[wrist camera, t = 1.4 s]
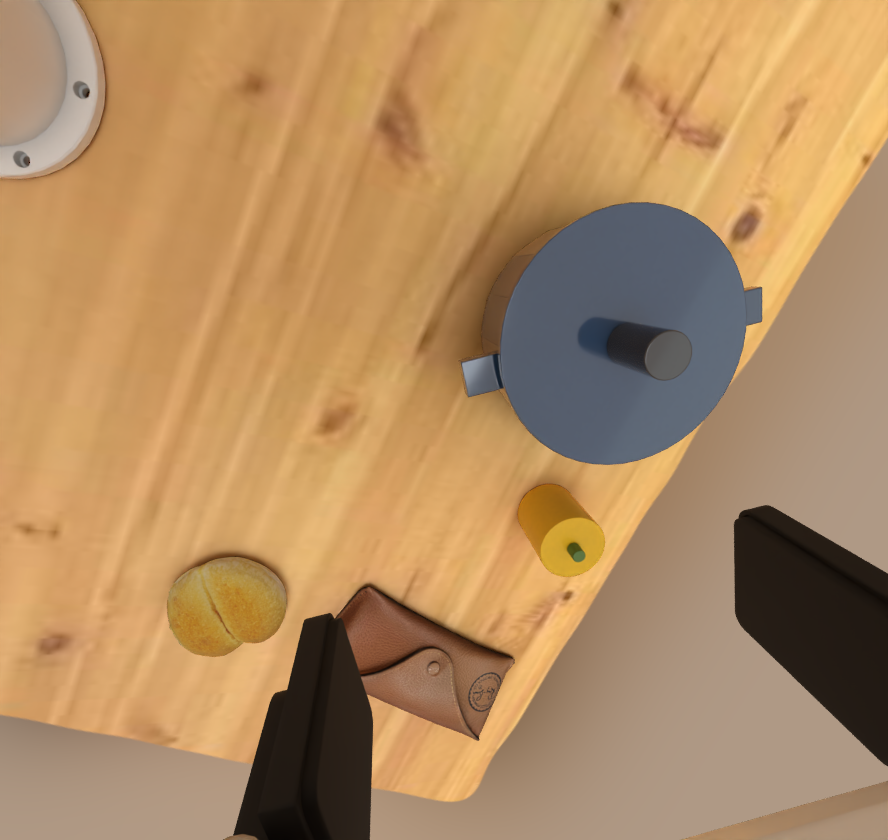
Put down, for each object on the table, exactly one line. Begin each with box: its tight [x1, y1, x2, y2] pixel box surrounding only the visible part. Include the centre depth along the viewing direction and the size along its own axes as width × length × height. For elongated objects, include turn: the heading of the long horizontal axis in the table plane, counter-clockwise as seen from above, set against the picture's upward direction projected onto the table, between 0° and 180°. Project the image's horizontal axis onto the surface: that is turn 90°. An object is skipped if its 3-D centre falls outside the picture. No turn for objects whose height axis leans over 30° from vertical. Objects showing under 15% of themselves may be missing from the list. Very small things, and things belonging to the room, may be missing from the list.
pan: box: [459, 227, 762, 406], centre depth 34 cm, size 16×21×7 cm
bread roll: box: [167, 557, 287, 657], centre depth 38 cm, size 8×9×4 cm
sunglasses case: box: [335, 586, 515, 741], centre depth 43 cm, size 18×7×7 cm
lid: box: [498, 202, 747, 465], centre depth 28 cm, size 17×17×6 cm
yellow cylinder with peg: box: [518, 484, 605, 577], centre depth 38 cm, size 5×5×7 cm
